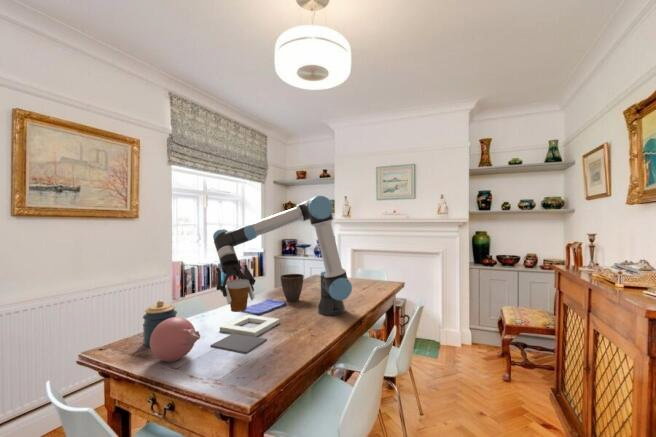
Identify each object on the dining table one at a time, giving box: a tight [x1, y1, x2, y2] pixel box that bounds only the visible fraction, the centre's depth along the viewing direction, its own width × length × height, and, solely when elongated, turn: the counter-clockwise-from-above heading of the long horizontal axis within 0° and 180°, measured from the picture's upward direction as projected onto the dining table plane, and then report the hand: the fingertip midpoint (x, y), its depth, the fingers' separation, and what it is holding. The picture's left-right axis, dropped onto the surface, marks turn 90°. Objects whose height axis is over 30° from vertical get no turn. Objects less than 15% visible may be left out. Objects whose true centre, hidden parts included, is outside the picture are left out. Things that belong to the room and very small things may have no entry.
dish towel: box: [240, 299, 288, 316], centre depth 180 cm, size 17×24×3 cm
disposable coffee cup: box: [226, 278, 250, 313], centre depth 129 cm, size 10×10×12 cm
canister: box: [142, 300, 178, 348], centre depth 132 cm, size 13×13×18 cm
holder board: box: [219, 314, 280, 337], centre depth 148 cm, size 20×20×2 cm
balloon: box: [149, 316, 201, 362], centre depth 114 cm, size 15×20×15 cm
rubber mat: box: [210, 333, 268, 354], centre depth 129 cm, size 18×14×1 cm
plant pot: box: [279, 273, 305, 303], centre depth 195 cm, size 15×15×16 cm
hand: (241, 300), depth 126 cm, fingers closed on disposable coffee cup, 9 cm apart
